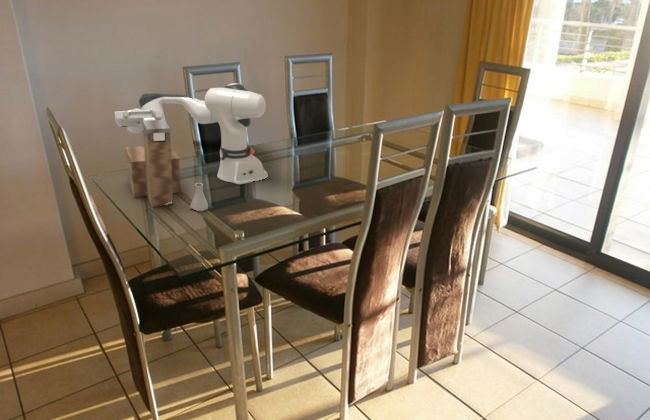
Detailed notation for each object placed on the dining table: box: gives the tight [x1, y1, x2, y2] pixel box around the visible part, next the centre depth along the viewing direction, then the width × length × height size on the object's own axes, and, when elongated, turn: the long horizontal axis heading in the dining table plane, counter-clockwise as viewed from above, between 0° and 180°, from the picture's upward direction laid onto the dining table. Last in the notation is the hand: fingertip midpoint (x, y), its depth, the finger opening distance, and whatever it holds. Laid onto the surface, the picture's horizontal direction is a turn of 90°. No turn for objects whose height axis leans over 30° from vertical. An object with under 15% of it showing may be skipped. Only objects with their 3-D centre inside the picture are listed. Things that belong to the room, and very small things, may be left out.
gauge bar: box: [143, 117, 165, 141], centre depth 195 cm, size 4×22×3 cm, turn 27°
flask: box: [189, 182, 209, 212], centre depth 198 cm, size 7×7×10 cm
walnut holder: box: [125, 119, 181, 208], centre depth 202 cm, size 18×26×31 cm
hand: (140, 111), depth 221 cm, fingers open, 8 cm apart
